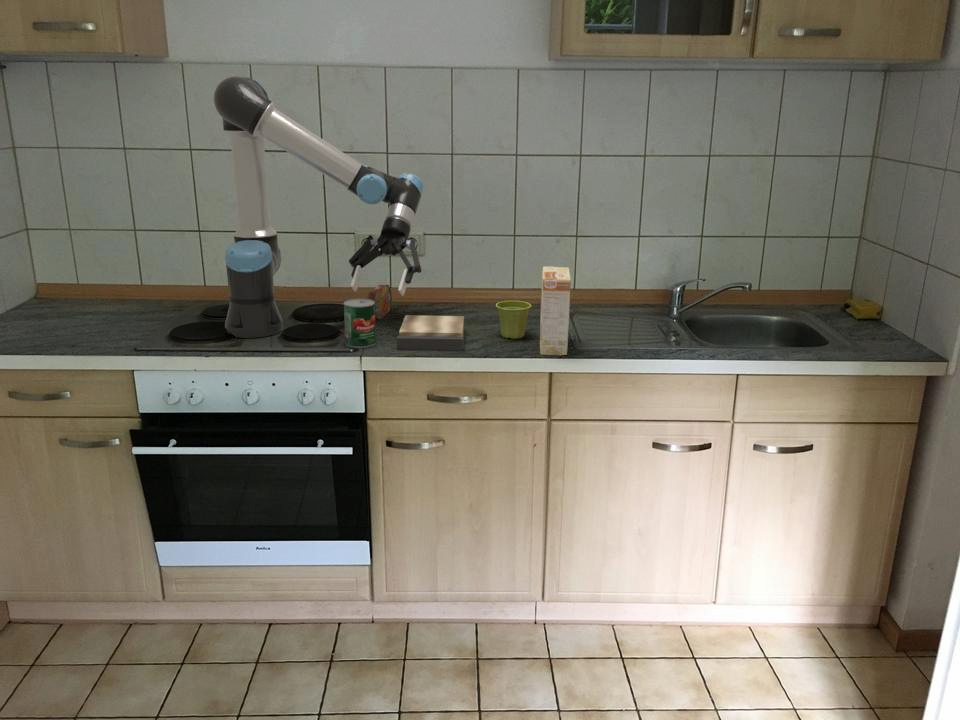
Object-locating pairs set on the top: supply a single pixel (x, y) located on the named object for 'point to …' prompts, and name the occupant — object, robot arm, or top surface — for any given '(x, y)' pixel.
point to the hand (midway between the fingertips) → (376, 290)
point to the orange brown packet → (381, 300)
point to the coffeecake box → (554, 310)
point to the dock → (431, 333)
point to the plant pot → (513, 318)
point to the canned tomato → (359, 323)
